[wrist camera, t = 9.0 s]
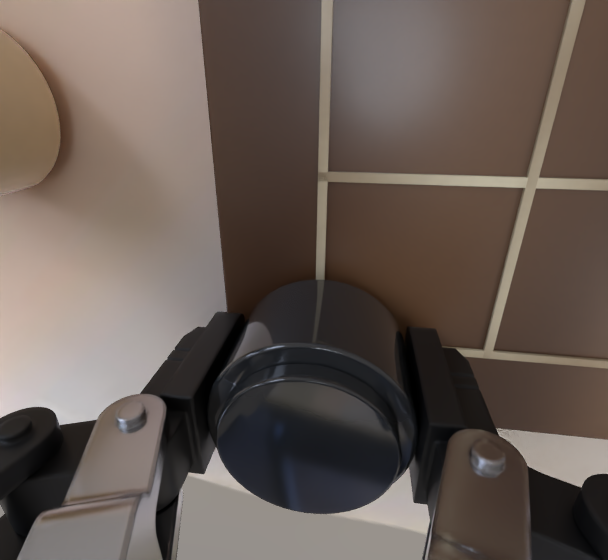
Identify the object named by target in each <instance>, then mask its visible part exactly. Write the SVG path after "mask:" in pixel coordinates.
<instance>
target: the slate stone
mask: <svg viewBox="0 0 608 560" xmlns="http://www.w3.org/2000/svg"><path fill="white" fill-rule="evenodd" d="M206 413H207V424H208V428H209V432H210V435H211V438H212V440H213V442H214V444H215V446H216V448H217V450H218V453H219V455H220V458H221V460H222V462H223V464H224V465H225V467H226V469H227V470H228V471H229V473H230V474H231V475H232V476H233V477H234V478H235V479H236V480H237V482H239V483H240V484H241V485H242V486H243V487H244V488H246V489H247V490H248V491H250V492H251V493H253V494H254V495H256V496H258V497H259V498H261V499H263V500H265V501H267V502H270V503H272V504H274V505H277V506H280V507H282V508H286V509H290V510H294V511H299V512H304V513H313V514H331V513H340V512H346V511H350V510H354V509H357V508H360V507H362V506H365V505H367V504H369V503H371V502H373V501H374V500H376V499H377V498H379V497H380V496H381V495H383V494H384V493H385V492H386V491H387V490H388V489H389V488H390V486H391V485H392V484H393V483H394V482H395V481H397V480H398V479H399V478H400V477H401V476H402V475H403V474H404V472H405V471H406V470H407V468H408V467H409V465H410V464H411V462H412V460H413V458H414V456H415V453H416V449H417V445H418V437H419V424H418V417H417V411H416V406H415V400H414V394H413V389H412V383H411V377H410V371H409V366H408V360H407V354H406V348H405V343H404V339H403V335H402V332H401V330H400V327H399V325H398V323H397V322H396V320H395V319H394V317H393V315H392V314H391V313H390V312H389V311H388V309H387V308H386V307H385V306H384V305H383V304H381V303H380V302H379V301H378V300H377V299H375V298H374V297H373V296H371V295H370V294H368V293H366V292H364V291H363V290H361V289H359V288H357V287H354V286H351V285H349V284H346V283H341V282H337V281H331V280H304V281H299V282H295V283H290V284H288V285H285V286H282V287H280V288H278V289H276V290H274V291H273V292H271V293H269V294H268V295H267V296H265V297H264V298H263V299H262V300H261V301H260V302H259V303H258V304H257V305H256V306H255V307H254V309H253V310H252V311H251V313H250V315H249V317H248V319H247V320H246V322H245V324H244V326H243V328H242V330H241V332H240V334H239V336H238V338H237V339H236V341H235V343H234V345H233V347H232V349H231V351H230V353H229V355H228V357H227V358H226V360H225V362H224V364H223V366H222V368H221V370H220V372H219V374H218V376H217V377H216V379H215V381H214V383H213V385H212V387H211V389H210V392H209V396H208V399H207V408H206Z"/></svg>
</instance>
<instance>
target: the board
mask: <svg viewBox="0 0 608 560" xmlns="http://www.w3.org/2000/svg"><path fill="white" fill-rule="evenodd" d="M198 2H199V12H200V23H201V34H202V45H203V55H204V66H205V77H206V88H207V98H208V109H209V120H210V131H211V141H212V152H213V163H214V174H215V184H216V195H217V206H218V216H219V227H220V238H221V249H222V259H223V270H224V281H225V292H226V302H227V312H230V313H242V314H243V315H244V317H245V322H246V320H247V319H248V317H249V315H250V313H251V311H252V310H253V309H254V307H255V306H256V305H257V304H258V303H259V302H260V301H261V300H262V299H263V298H264V297H265V296H267V295H268V294H269V293H271V292H273V291H274V290H276V289H278V288H280V287H282V286H285V285H288V284H290V283H295V282H299V281H304V280H331V281H337V282H341V283H346V284H349V285H351V286H354V287H357V288H359V289H361V290H363V291H364V292H366V293H368V294H370V295H371V296H373V297H374V298H375V299H377V300H378V301H379V302H380V303H381V304H383V305H384V306H385V307H386V308H387V309H388V311H389V312H390V313H391V314H392V315H393V317H394V319H395V320H396V322H397V323H398V325H399V327H400V330H401V332H402V335H403V339H404V342H405V335H406V330H407V327H408V326H409V327H422V328H435V329H436V330H437V333H438V336H439V339H440V342H441V345H442V347H445V348H456V349H457V350H458V351H459V352H460V353H461V354H462V355H463V356H464V357H465V358H466V359H467V360H468V361H469V364H470V366H471V368H472V371H473V373H474V378H476V381H477V383H478V386H479V390H480V391H481V393H482V396H483V398H484V400H485V403H486V405H487V408H488V410H489V413H490V415H491V418H492V420H493V423H494V425H495V428H501V429H511V430H520V431H530V432H540V433H549V434H559V435H569V436H578V437H588V438H597V439H607V440H608V0H198Z"/></svg>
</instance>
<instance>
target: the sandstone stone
mask: <svg viewBox="0 0 608 560" xmlns="http://www.w3.org/2000/svg"><path fill="white" fill-rule="evenodd" d="M60 137H61V131H60V121H59V115H58V110H57V107H56V104H55V100H54V97H53V95H52V93H51V90H50V88H49V86H48V84H47V82H46V80H45V78H44V76H43V74H42V73H41V71H40V70H39V68H38V67H37V65H36V63H35V62H34V61H33V60H32V58H31V57H30V56H29V55H28V53H27V52H26V51H25V50H24V49H23V48H22V47H21V46H20V45H19V44H18V43H17V42H16V41H15V40H14V39H13V38H12V37H10V36H9V35H8V34H7V33H6V32H4V31H3V30H1V29H0V196H2V195H6V194H10V193H13V192H17V191H21V190H25V189H28V188H30V187H33V186H35V185H36V184H38V183H40V182H41V181H42V180H43V179H44V178H45V177H46V176H47V175H48V174H49V172H50V171H51V170H52V168H53V166H54V164H55V162H56V159H57V156H58V153H59V148H60Z"/></svg>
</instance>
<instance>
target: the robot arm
mask: <svg viewBox="0 0 608 560" xmlns="http://www.w3.org/2000/svg"><path fill="white" fill-rule="evenodd" d="M244 324H245V317H244V315H243V314H242V313H230V312H217V313H216V314H215V315H214V316H213V318H212V319H211V321H210V322H209V324H208V325H207V327H197V328H196V329H194V330H193V331H191V332H189V333H188V334H186V335H185V336H184V337H183V338H182V339H181V341H180V342H179V343H178V344H177V346H176V347H175V350H173V351H172V352H171V354H170V355H169V356H168V359H167V360H165V362H164V363H163V364H162V365H161V367H160V368H159V369H158V371H157V372H156V373H155V375H154V376H153V377H152V379H151V380H150V381H149V383H148V384H147V385H146V387H145V388H144V389H143V390H142V392H141V393H140V394H136V395H131V396H127V397H125V398H122V399H120V400H118V401H116V402H114V403H113V404H111V405H110V406H108V407H107V408H106V409H105V410H104V411H103V412H102V413H101V414H100V415H99V417H98V419H97V420H93V421H86V422H79V423H72V424H65V425H59V423H58V420H57V417H56V415H55V413H54V412H53V411H52V410H50V409H48V408H44V407H32V408H26V409H21V410H18V411H15V412H13V413H10V414H8V415H6V416H4V417H2V418H0V505H1V507H2V509H3V511H4V513H5V514H4V515H3V516H2V517H1V518H0V560H176V557H177V549H178V540H179V530H180V521H181V511H182V502H183V491H182V485H183V483H184V481H185V479H186V477H187V475H188V473H189V472H192V473H199V474H204V473H205V471H206V468H207V466H208V464H209V461H210V459H211V456H212V454H213V452H214V449H215V447H216V446H215V444H214V442H213V440H212V438H211V435H210V432H209V428H208V424H207V413H206V408H207V399H208V396H209V392H210V389H211V387H212V385H213V383H214V381H215V379H216V377H217V376H218V374H219V372H220V370H221V368H222V366H223V364H224V362H225V360H226V358H227V357H228V355H229V353H230V351H231V349H232V347H233V345H234V343H235V341H236V339H237V338H238V336H239V334H240V332H241V330H242V328H243V326H244ZM404 343H405V348H406V354H407V360H408V366H409V371H410V377H411V383H412V389H413V394H414V400H415V406H416V411H417V417H418V424H419V437H418V445H417V449H416V453H415V456H414V458H413V460H412V462H411V464H410V465H409V469H410V477H411V484H412V492H413V500H414V503H420V504H428V510H429V516H430V523H429V527H428V532H427V537H426V542H425V547H424V552H423V557H422V560H608V474H597V475H592V476H590V477H588V478H587V479H586V480H585V481H584V484H583V486H582V488H580V487H577V486H575V485H572V484H569V483H567V482H564V481H561V480H558V479H556V478H553V477H550V476H547V475H545V474H542V473H540V472H538V471H536V470H534V469H532V468H530V467H528V466H527V464H526V462H525V460H524V458H523V456H522V455H521V454H520V452H519V451H518V450H517V449H516V448H515V447H514V446H513V445H512V444H510V443H509V442H508V441H506V440H505V439H503V438H502V437H500V436H499V435H498V432H497V430H496V428H495V425H494V423H493V420H492V418H491V415H490V413H489V410H488V408H487V405H486V403H485V400H484V398H483V396H482V393H481V391H480V390H479V386H478V383H477V381H476V378H474V373H473V371H472V368H471V366H470V364H469V361H468V360H467V359H466V358H465V357H464V356H463V355H462V354H461V353H460V352H459V351H458V350H457V349H456V348H445V347H442V345H441V342H440V339H439V336H438V333H437V330H436V329H435V328H422V327H409V326H408V327H407V330H406V335H405V342H404Z"/></svg>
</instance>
